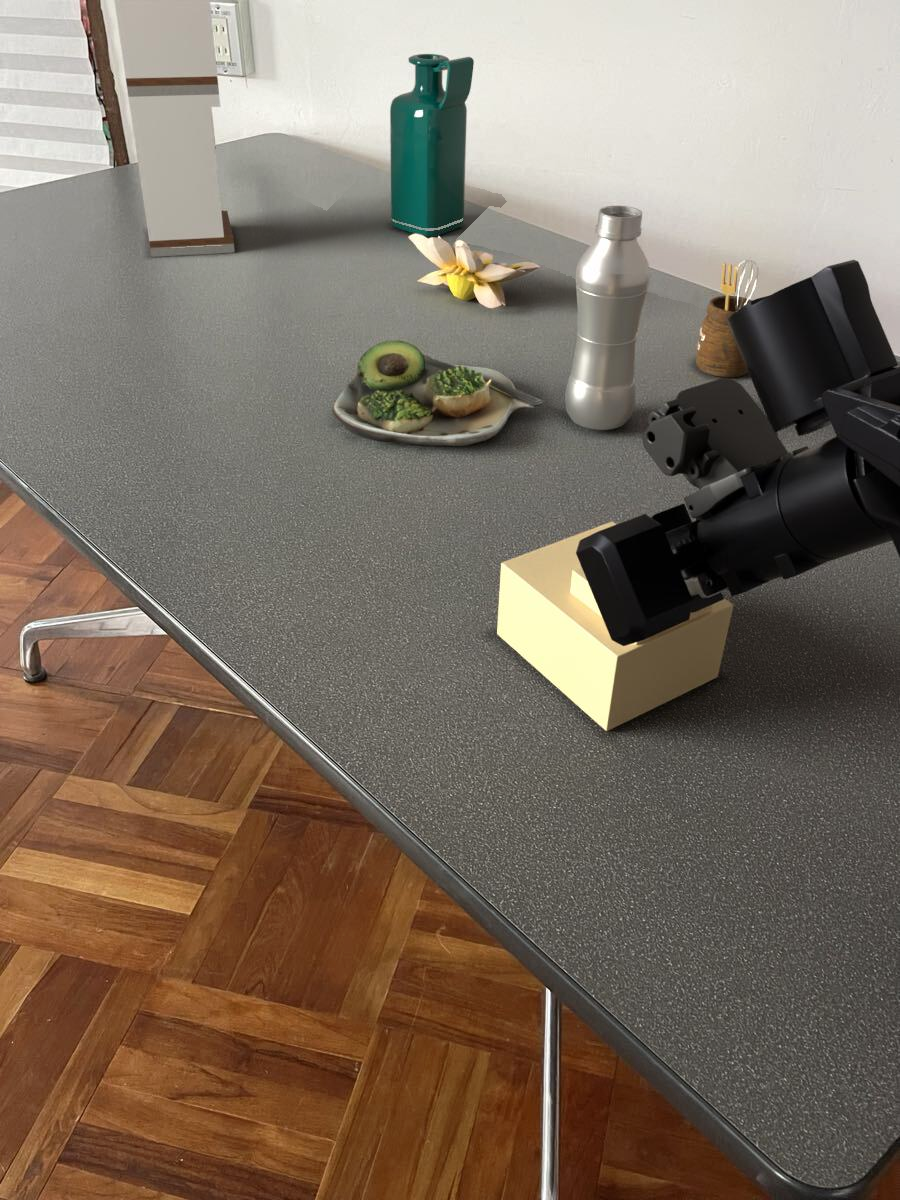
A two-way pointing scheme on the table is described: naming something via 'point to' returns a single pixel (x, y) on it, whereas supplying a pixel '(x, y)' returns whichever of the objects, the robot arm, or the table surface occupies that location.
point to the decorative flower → (468, 270)
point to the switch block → (600, 638)
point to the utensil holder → (722, 331)
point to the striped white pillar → (175, 122)
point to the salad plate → (425, 399)
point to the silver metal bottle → (608, 321)
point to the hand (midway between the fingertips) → (644, 574)
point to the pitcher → (430, 146)
